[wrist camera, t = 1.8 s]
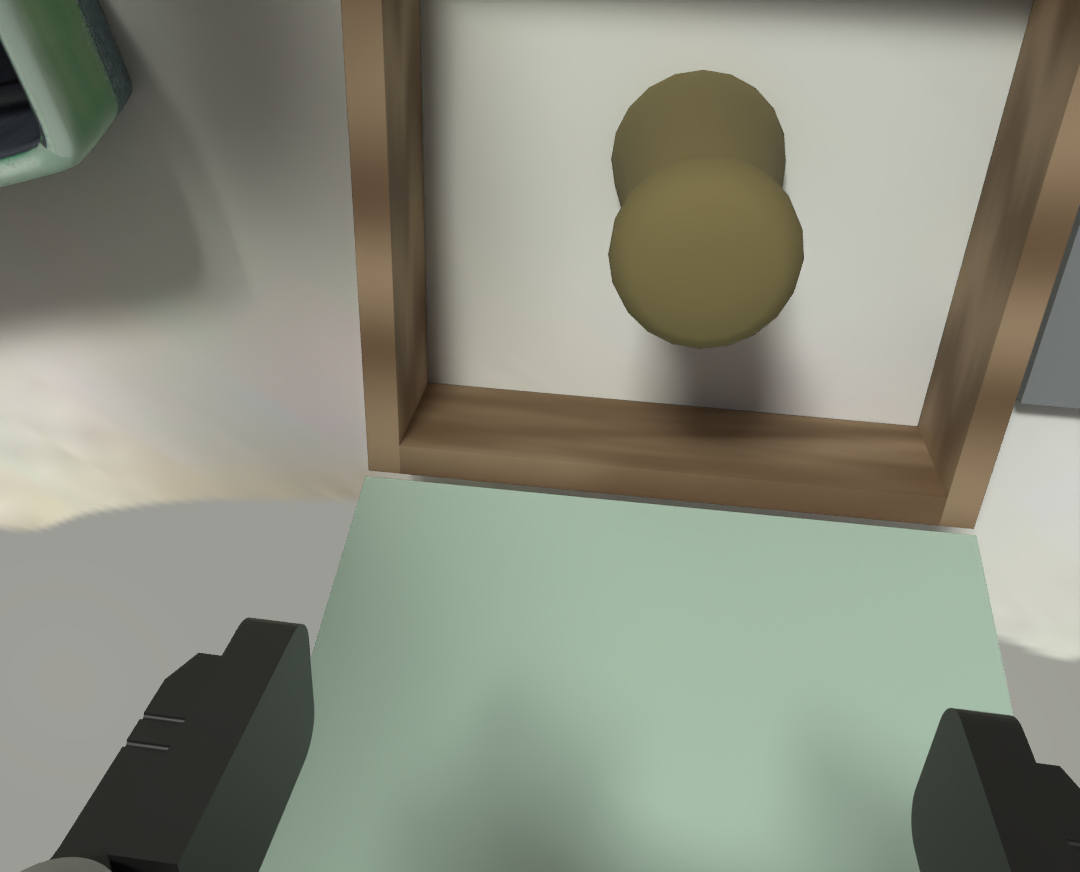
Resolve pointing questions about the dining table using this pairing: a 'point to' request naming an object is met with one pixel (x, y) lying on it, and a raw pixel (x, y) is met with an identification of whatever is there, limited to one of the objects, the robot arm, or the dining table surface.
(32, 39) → the planter
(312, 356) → the dining table surface
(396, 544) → the lid
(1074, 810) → the robot arm
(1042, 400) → the mat
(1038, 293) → the cold frame
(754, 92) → the cork
